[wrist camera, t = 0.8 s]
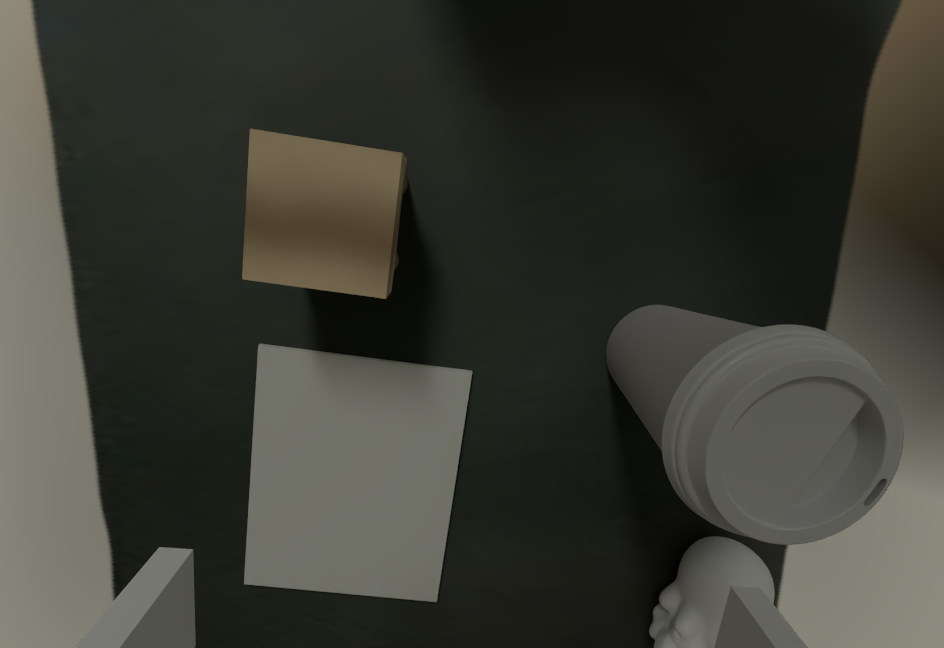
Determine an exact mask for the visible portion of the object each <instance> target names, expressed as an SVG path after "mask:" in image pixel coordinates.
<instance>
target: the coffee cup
mask: <svg viewBox="0 0 944 648" xmlns="http://www.w3.org/2000/svg"><path fill="white" fill-rule="evenodd" d="M606 362H607V366H608V369H609V372H610V374H611V376H612V378H613V379H614V381H615V382H616V384H617V385H618V387H619V388H620V390H621V391H622V393H623V394H624V396H625V397H626V399H627V400H628V402H629V403H630V405H631V406H632V408H633V409H634V411H635V412H636V414H637V415H638V417H639V418H640V420H641V421H642V423H643V424H644V426H645V427H646V429H647V430H648V432H649V433H650V435H651V436H652V438H653V439H654V441H655V442H656V444H657V445H658V447H659V448H660V450H661V451H662V456H663V462H664V466H665V470H666V473H667V476H668V478H669V481H670V483H671V485H672V486H673V488H674V490H675V491H676V493H677V494H678V496H679V497H680V498H681V500H682V501H683V502H684V503H685V504H686V505H687V506H688V507H689V508H690V509H691V510H692V511H694V512H695V513H696V514H698V515H699V516H701V517H702V518H704V519H705V520H707V521H709V522H710V523H712V524H714V525H716V526H718V527H720V528H722V529H724V530H727V531H730V532H732V533H735V534H738V535H742V536H746V537H751V538H754V539H756V540H760V541H763V542H767V543H773V544H783V545H792V544H802V543H808V542H813V541H817V540H820V539H823V538H826V537H829V536H831V535H833V534H836V533H838V532H840V531H842V530H844V529H845V528H847V527H849V526H850V525H852V524H853V523H855V522H856V521H858V520H859V519H860V518H861V517H863V516H864V515H865V514H866V513H867V512H868V511H869V510H870V509H871V508H872V507H873V506H874V505H875V504H876V503H877V502H878V501H879V499H880V498H881V497H882V496H883V494H884V493H885V491H886V490H887V488H888V487H889V485H890V483H891V481H892V479H893V477H894V475H895V473H896V471H897V468H898V465H899V462H900V459H901V454H902V449H903V424H902V418H901V414H900V411H899V408H898V406H897V404H896V401H895V399H894V398H893V396H892V395H891V393H890V392H889V390H888V389H887V388H886V386H885V385H884V384H883V382H882V380H881V379H880V377H879V375H878V374H877V372H876V371H875V370H874V369H873V367H872V366H871V365H870V364H869V362H868V361H867V360H866V359H865V358H864V357H863V356H862V355H861V354H860V353H858V352H857V351H856V350H855V349H854V348H852V347H851V346H850V345H848V344H847V343H846V342H844V341H843V340H841V339H840V338H838V337H836V336H834V335H832V334H830V333H828V332H826V331H823V330H820V329H817V328H813V327H808V326H802V325H773V326H767V327H758V326H753V325H749V324H744V323H740V322H735V321H731V320H727V319H722V318H718V317H714V316H709V315H705V314H701V313H696V312H692V311H688V310H683V309H679V308H675V307H670V306H665V305H649V306H644V307H641V308H638V309H636V310H634V311H632V312H631V313H629V314H628V315H626V316H625V317H624V318H623V319H622V320H621V321H620V322H619V323H618V324H617V325H616V326H615V328H614V329H613V331H612V333H611V335H610V337H609V340H608V343H607V348H606Z"/></svg>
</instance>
